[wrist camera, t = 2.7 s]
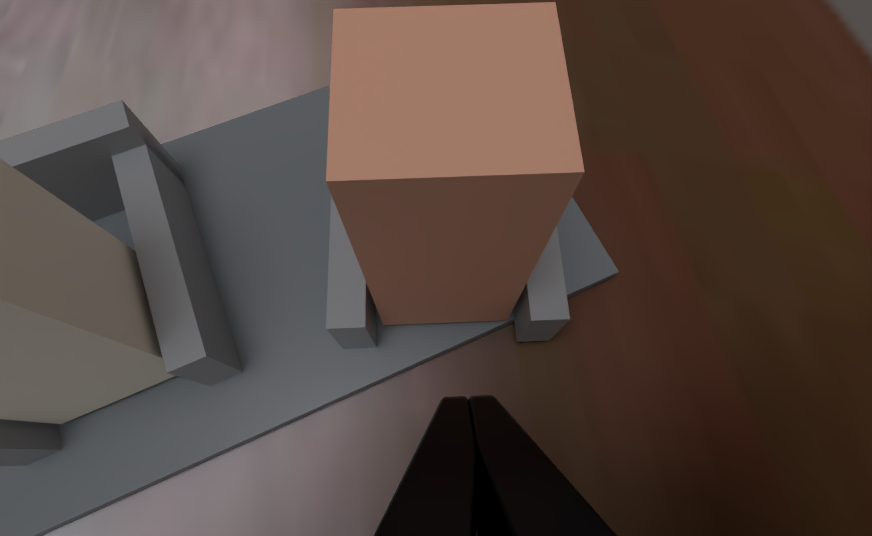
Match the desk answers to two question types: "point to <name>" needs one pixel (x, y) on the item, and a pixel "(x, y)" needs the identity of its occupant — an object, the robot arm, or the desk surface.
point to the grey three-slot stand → (232, 298)
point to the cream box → (67, 310)
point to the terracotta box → (450, 152)
